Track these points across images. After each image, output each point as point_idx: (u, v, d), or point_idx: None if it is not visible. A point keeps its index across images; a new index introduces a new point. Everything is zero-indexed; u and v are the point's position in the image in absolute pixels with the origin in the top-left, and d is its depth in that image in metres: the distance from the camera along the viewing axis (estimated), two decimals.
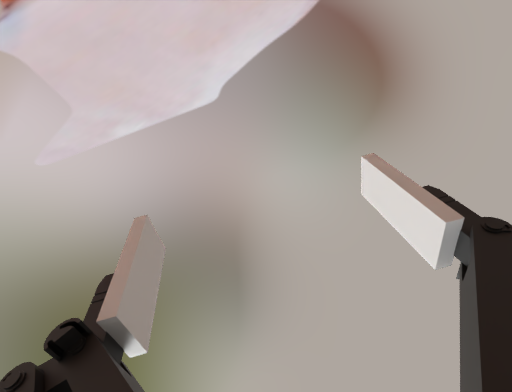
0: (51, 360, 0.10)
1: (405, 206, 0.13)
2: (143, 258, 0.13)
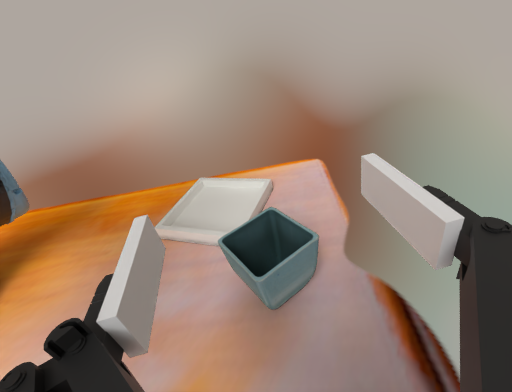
0: (51, 360, 0.10)
1: (405, 206, 0.13)
2: (143, 258, 0.13)
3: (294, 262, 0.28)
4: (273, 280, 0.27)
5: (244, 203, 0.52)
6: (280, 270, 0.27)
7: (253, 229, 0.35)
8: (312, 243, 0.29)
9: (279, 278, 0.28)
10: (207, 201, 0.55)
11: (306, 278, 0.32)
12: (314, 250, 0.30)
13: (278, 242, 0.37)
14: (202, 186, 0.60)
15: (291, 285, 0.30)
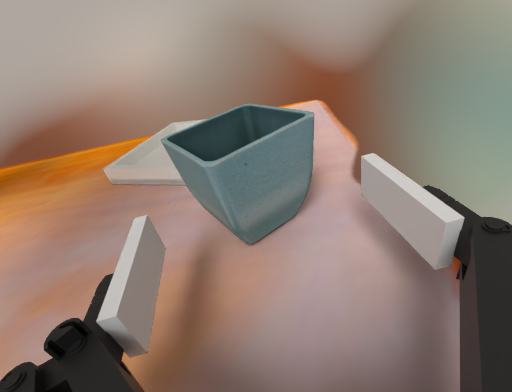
0: (51, 360, 0.10)
1: (405, 206, 0.13)
2: (143, 258, 0.13)
3: (274, 149, 0.17)
4: (237, 173, 0.16)
5: None
6: (249, 156, 0.16)
7: (219, 133, 0.24)
8: (304, 122, 0.18)
9: (249, 173, 0.17)
10: None
11: (297, 193, 0.21)
12: (307, 139, 0.19)
13: None
14: (174, 132, 0.49)
15: (272, 197, 0.19)
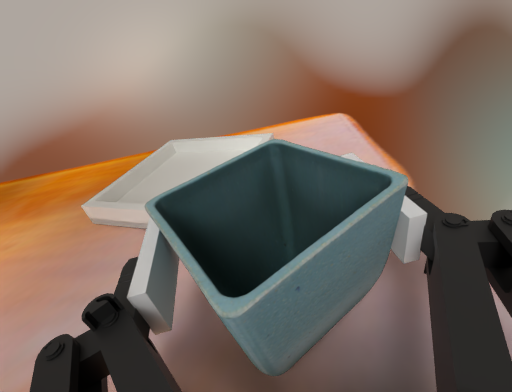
0: (85, 333, 0.10)
1: None
2: (164, 243, 0.14)
3: (345, 250, 0.09)
4: (283, 307, 0.08)
5: None
6: (305, 274, 0.08)
7: (235, 184, 0.16)
8: (394, 196, 0.10)
9: (301, 299, 0.09)
10: (176, 169, 0.36)
11: (362, 293, 0.13)
12: (393, 219, 0.11)
13: (289, 216, 0.18)
14: (173, 152, 0.41)
15: (330, 314, 0.11)
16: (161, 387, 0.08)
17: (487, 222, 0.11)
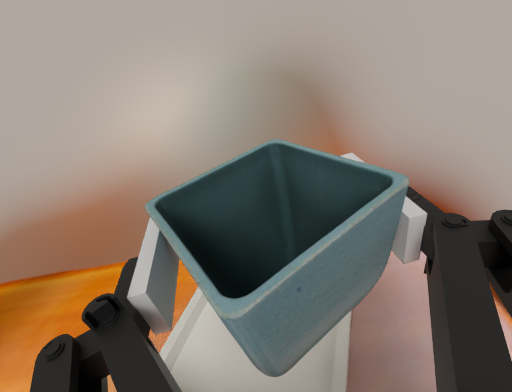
0: (85, 333, 0.10)
1: None
2: (164, 243, 0.14)
3: (346, 250, 0.09)
4: (284, 308, 0.08)
5: None
6: (306, 275, 0.08)
7: (235, 185, 0.16)
8: (395, 196, 0.10)
9: (302, 300, 0.09)
10: None
11: (363, 294, 0.13)
12: (394, 219, 0.11)
13: (290, 217, 0.18)
14: None
15: (330, 315, 0.11)
16: (161, 387, 0.08)
17: (487, 222, 0.11)
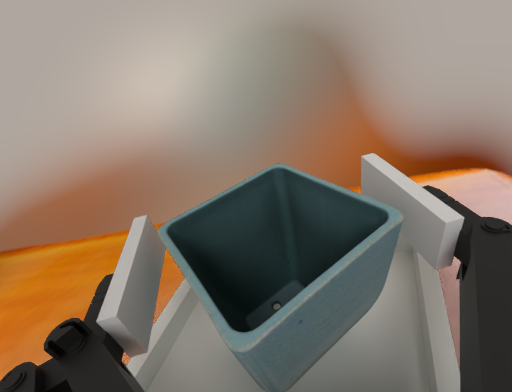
0: (51, 360, 0.10)
1: (405, 206, 0.13)
2: (143, 258, 0.13)
3: (344, 283, 0.10)
4: (287, 338, 0.09)
5: None
6: (307, 309, 0.09)
7: (241, 207, 0.17)
8: (390, 232, 0.11)
9: (303, 329, 0.10)
10: None
11: (361, 315, 0.14)
12: (389, 251, 0.12)
13: (292, 235, 0.19)
14: None
15: (330, 338, 0.12)
16: None
17: None
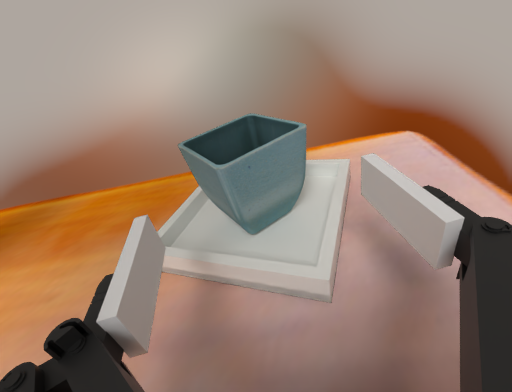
0: (51, 360, 0.10)
1: (405, 206, 0.13)
2: (143, 258, 0.13)
3: (272, 155, 0.21)
4: (242, 174, 0.20)
5: (307, 202, 0.28)
6: (252, 160, 0.20)
7: (227, 139, 0.28)
8: (297, 132, 0.22)
9: (251, 174, 0.21)
10: None
11: (292, 191, 0.25)
12: (301, 146, 0.22)
13: None
14: None
15: (270, 194, 0.23)
16: None
17: None
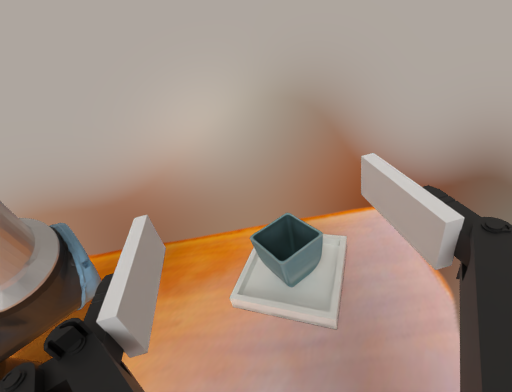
0: (51, 360, 0.10)
1: (405, 206, 0.13)
2: (143, 258, 0.13)
3: (306, 252, 0.41)
4: (291, 264, 0.40)
5: (321, 265, 0.48)
6: (296, 257, 0.40)
7: (274, 229, 0.47)
8: (318, 238, 0.41)
9: (295, 263, 0.40)
10: None
11: (314, 264, 0.44)
12: (320, 244, 0.42)
13: (293, 239, 0.50)
14: None
15: (303, 269, 0.42)
16: None
17: None
